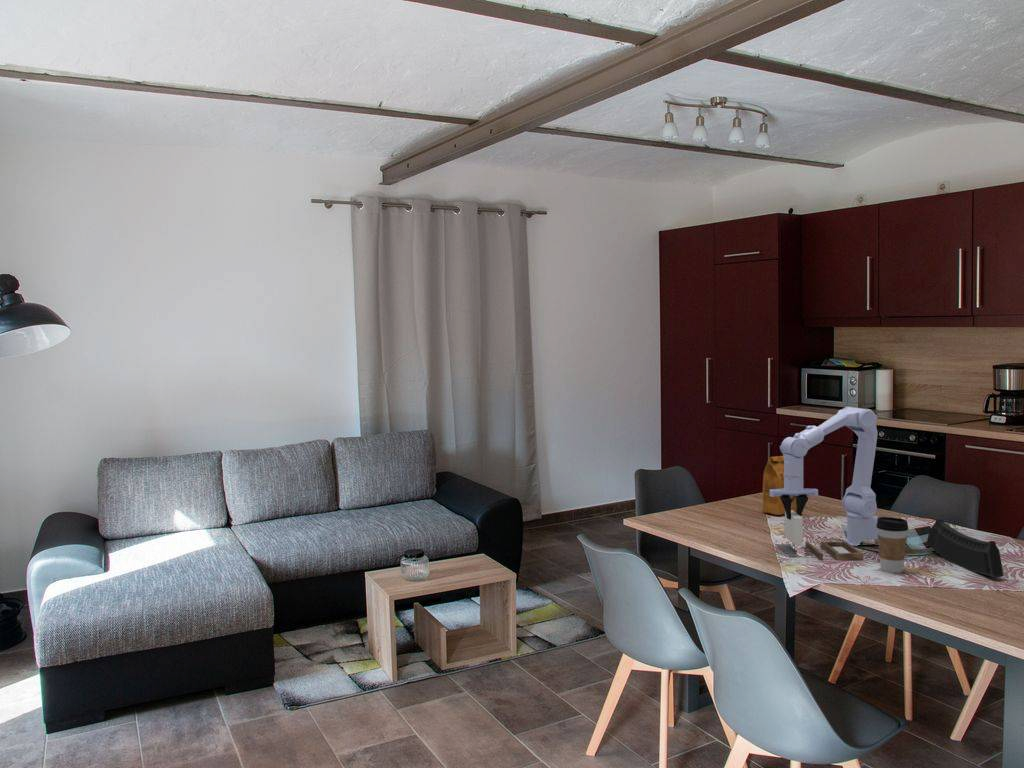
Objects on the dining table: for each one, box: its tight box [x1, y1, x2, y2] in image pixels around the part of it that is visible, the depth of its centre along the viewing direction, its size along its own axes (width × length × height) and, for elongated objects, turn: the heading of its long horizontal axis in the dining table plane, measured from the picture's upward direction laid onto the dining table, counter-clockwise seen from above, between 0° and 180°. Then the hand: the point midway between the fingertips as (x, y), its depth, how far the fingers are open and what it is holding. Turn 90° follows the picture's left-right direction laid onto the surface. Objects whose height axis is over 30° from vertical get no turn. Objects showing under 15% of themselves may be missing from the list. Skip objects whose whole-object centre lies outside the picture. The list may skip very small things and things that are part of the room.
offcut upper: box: [832, 547, 850, 553], centre depth 254 cm, size 3×7×1 cm, turn 179°
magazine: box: [926, 518, 1005, 578], centre depth 239 cm, size 17×3×30 cm
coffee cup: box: [876, 516, 909, 574], centre depth 236 cm, size 8×8×15 cm
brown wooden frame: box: [804, 540, 864, 562], centre depth 254 cm, size 13×14×2 cm
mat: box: [775, 543, 813, 558], centre depth 258 cm, size 7×14×1 cm, turn 179°
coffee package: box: [762, 455, 796, 516], centre depth 308 cm, size 10×12×22 cm
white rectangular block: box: [784, 510, 804, 546], centre depth 258 cm, size 2×10×8 cm, turn 179°
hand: (793, 518), depth 257 cm, fingers closed on white rectangular block, 2 cm apart
